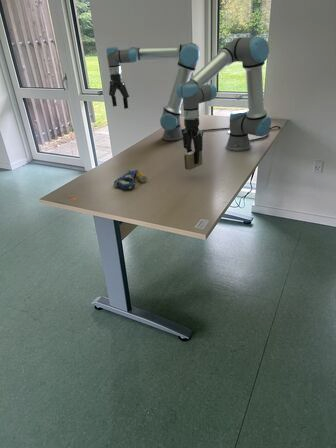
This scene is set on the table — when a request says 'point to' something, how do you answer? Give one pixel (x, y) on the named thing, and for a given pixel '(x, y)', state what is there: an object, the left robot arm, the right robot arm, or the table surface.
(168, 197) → the table surface
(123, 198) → the table surface
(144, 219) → the table surface
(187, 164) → the ink box
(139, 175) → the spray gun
